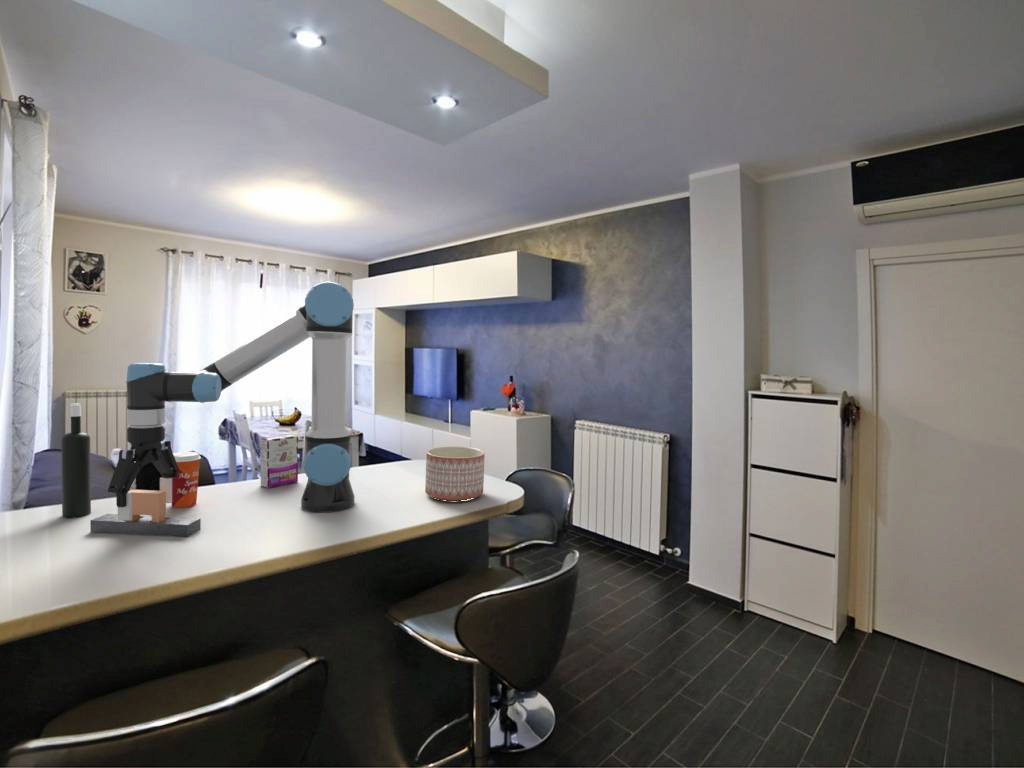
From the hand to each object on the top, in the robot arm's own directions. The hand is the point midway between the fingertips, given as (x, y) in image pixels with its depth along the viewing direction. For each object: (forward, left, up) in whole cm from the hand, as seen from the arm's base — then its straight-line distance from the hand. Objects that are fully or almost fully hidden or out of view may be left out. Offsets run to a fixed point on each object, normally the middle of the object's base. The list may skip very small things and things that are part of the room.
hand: (146, 510), depth 123 cm
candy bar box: (-10, -47, -5) cm, 48 cm away
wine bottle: (+26, -9, -5) cm, 28 cm away
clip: (0, 0, -5) cm, 5 cm away
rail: (0, 0, -5) cm, 5 cm away
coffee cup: (+5, -21, -5) cm, 22 cm away
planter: (-71, -43, -5) cm, 83 cm away
